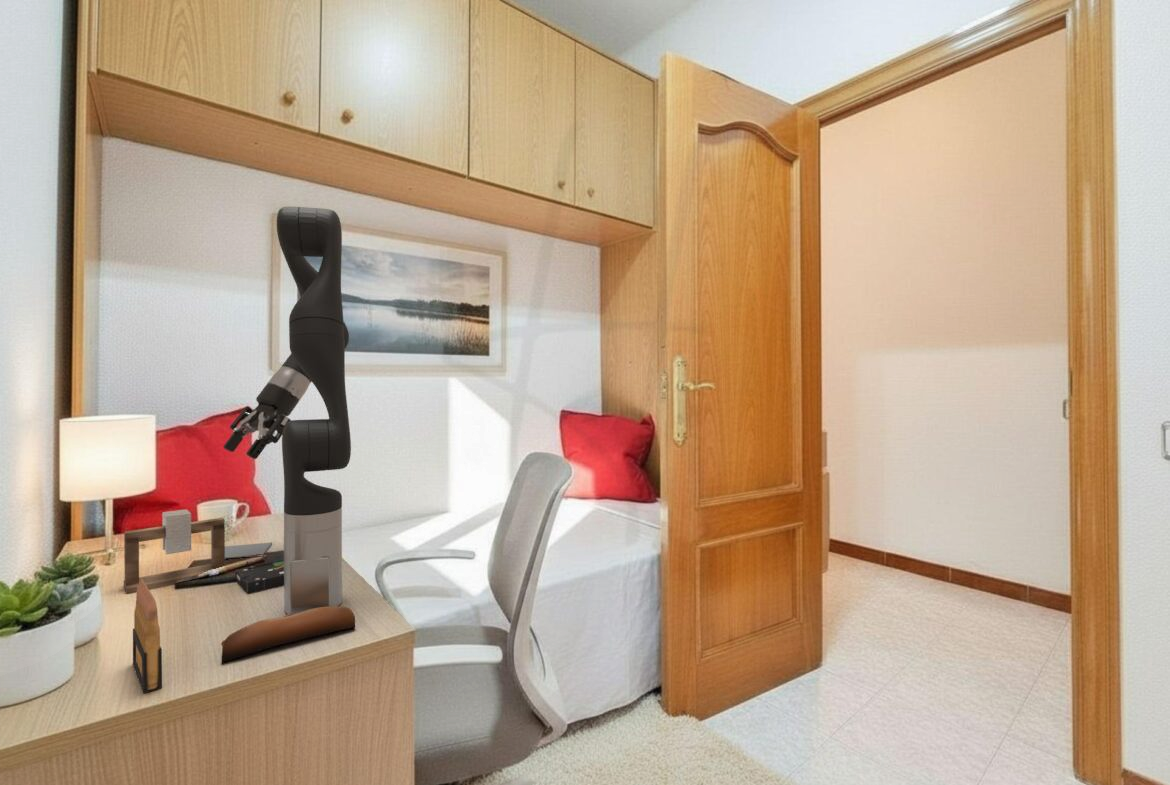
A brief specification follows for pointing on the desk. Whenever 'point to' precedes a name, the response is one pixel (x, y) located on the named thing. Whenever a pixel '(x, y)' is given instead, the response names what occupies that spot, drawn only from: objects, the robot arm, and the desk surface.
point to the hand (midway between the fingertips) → (239, 453)
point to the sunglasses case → (286, 630)
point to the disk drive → (261, 577)
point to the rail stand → (172, 577)
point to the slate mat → (246, 550)
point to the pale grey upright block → (177, 531)
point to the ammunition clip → (147, 640)
